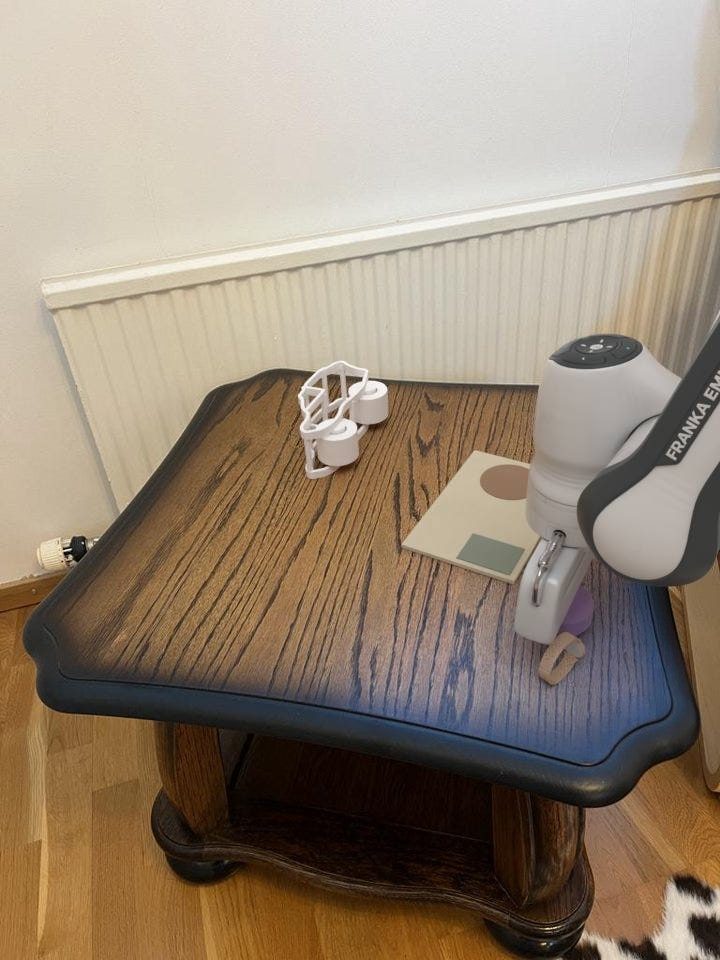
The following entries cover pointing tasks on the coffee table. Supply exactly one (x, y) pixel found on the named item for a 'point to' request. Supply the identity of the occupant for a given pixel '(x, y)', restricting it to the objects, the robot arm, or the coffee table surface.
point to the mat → (480, 519)
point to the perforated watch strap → (560, 672)
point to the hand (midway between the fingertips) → (560, 609)
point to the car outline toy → (339, 417)
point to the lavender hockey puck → (578, 613)
